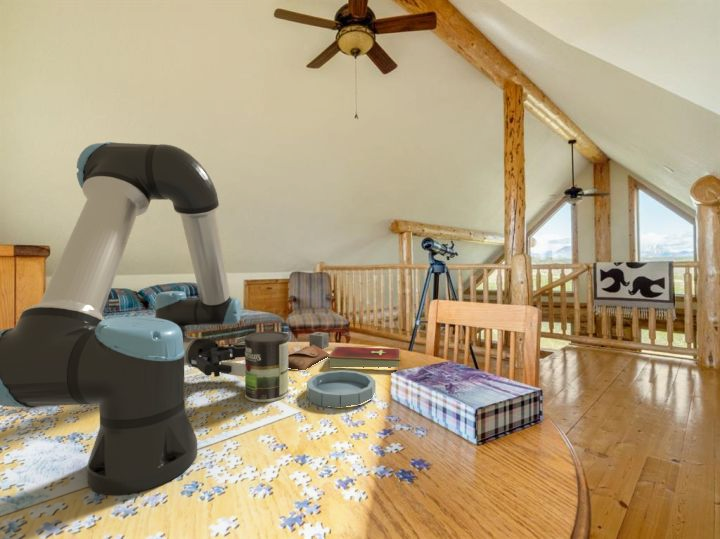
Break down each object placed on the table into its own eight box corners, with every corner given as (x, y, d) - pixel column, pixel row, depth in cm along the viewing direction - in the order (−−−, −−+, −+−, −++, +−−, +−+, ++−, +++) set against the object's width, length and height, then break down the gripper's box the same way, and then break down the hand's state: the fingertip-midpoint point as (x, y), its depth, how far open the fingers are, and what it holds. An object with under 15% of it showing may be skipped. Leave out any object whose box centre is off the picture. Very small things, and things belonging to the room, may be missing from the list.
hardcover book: (335, 358, 118) (335, 345, 117) (400, 360, 115) (400, 347, 115) (327, 370, 106) (327, 355, 106) (400, 373, 103) (400, 358, 103)
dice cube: (309, 348, 128) (309, 334, 127) (316, 345, 132) (316, 331, 132) (321, 350, 126) (321, 336, 125) (328, 346, 130) (328, 333, 130)
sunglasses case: (304, 372, 102) (294, 350, 103) (287, 381, 105) (277, 360, 106) (334, 355, 119) (325, 337, 120) (318, 363, 121) (309, 345, 123)
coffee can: (260, 407, 80) (259, 343, 79) (236, 394, 87) (236, 336, 86) (298, 393, 87) (297, 335, 86) (273, 382, 94) (273, 329, 94)
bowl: (384, 403, 82) (384, 390, 82) (313, 412, 77) (313, 398, 77) (363, 379, 97) (363, 368, 97) (303, 385, 92) (303, 373, 92)
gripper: (231, 353, 108) (292, 362, 100) (155, 381, 85) (226, 395, 77) (231, 329, 107) (291, 335, 99) (154, 350, 84) (225, 361, 76)
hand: (263, 361), depth 88 cm, fingers open, 13 cm apart
